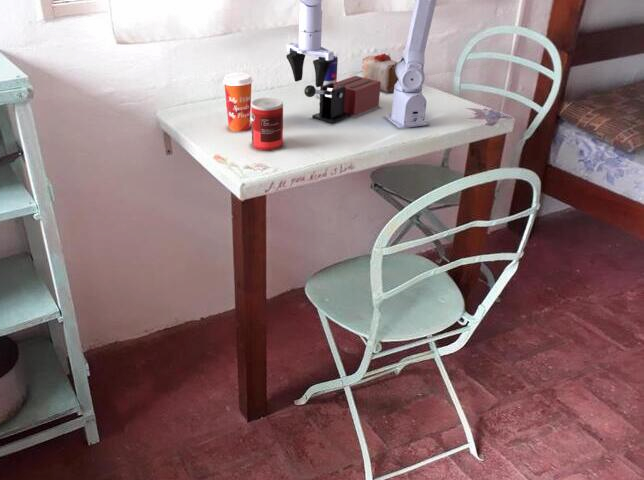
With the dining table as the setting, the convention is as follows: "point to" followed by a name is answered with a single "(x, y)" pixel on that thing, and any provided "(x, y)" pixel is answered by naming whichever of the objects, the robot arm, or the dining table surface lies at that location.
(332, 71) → the energy drink
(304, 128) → the dining table surface
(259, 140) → the canned food
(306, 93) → the toaster lever
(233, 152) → the dining table surface
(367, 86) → the toaster
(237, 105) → the paper cup
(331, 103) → the lever bracket
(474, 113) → the dining table surface
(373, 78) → the food item
